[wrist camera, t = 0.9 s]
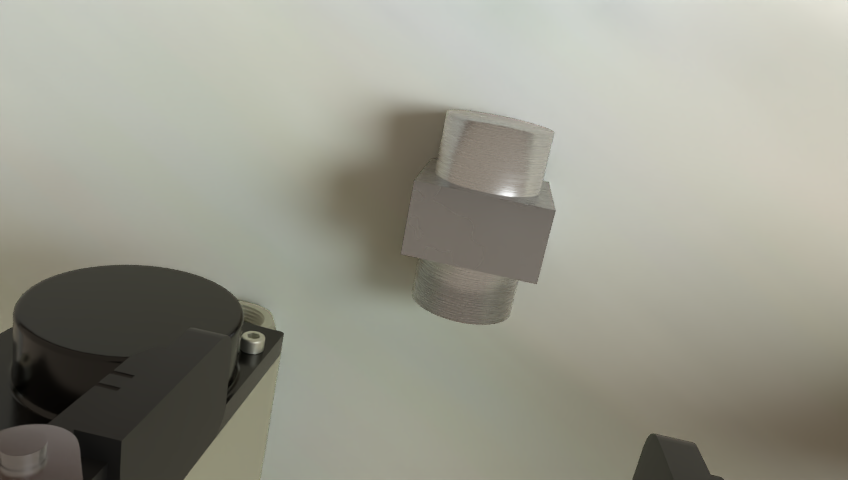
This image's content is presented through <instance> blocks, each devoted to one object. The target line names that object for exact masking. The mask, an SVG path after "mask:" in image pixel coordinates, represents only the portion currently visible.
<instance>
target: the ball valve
mask: <svg viewBox="0 0 848 480" xmlns="http://www.w3.org/2000/svg"><path fill="white" fill-rule="evenodd" d="M189 328H197V329H201V330H206V331H210V332H214V333H219V334H223V335H228V336H229V337H230V338H231V342H232V349H231V360H230V369H229V379H228V389H227V399H226V408H225V413H224V417H223V420H222V423H221V426H220V428H219V431H218V433H217V435H216V437H215V438H214V440H213V441H212V443H211V444H210V445H209V447H208V448H207V449H206V451H205V452H204V453H203V455H202V456H201V457H200V459H199V460H198V461H197V463H196V464H195V465H194V467H193V468H192V469H191V471H190V472H189V473H188V475H187V476H186V477H185V479H184V480H260V478H261V471H262V465H263V460H264V455H265V449H266V442H267V436H268V430H269V424H270V417H271V411H272V405H273V399H274V393H275V387H276V381H277V374H278V368H279V362H280V356H281V350H282V342H283V335H284V333H283V332H280V331H277V330H276V328H275V323H274V319H273V316H272V314H271V312H270V311H269V310H267V309H265V308H263V307H261V306H258V305H256V304H253V303H249V302H244V301H238V300H237V299H236V297H235V296H234V295H233V294H232V293H230V292H229V291H228V290H226V289H225V288H223V287H222V286H220V285H218V284H217V283H215V282H213V281H210V280H208V279H206V278H203V277H200V276H197V275H194V274H191V273H187V272H183V271H179V270H174V269H169V268H162V267H154V266H142V265H109V266H98V267H89V268H83V269H78V270H73V271H69V272H65V273H62V274H58V275H56V276H53V277H50V278H48V279H45V280H43V281H41V282H39V283H38V284H36V285H34V286H32V287H31V288H30V289H29V290H27V291H26V292H25V293H24V294H23V295H22V296H21V297H20V299H19V300H18V302H17V303H16V305H15V308H14V312H13V327H12V328H10V329H8V330H6V331H5V332H3V333H1V334H0V431H1V430H4V429H8V428H11V427H16V426H21V425H30V424H46V425H47V424H48V423H49V422H51V421H52V420H53V419H54V418H55V417H57V416H58V415H59V414H60V413H62V412H63V411H64V410H65V409H66V408H68V407H69V406H70V405H71V404H73V403H74V402H75V401H76V400H77V399H79V398H80V397H81V396H82V395H84V394H85V393H86V392H87V391H88V390H90V389H91V388H92V387H93V386H97V385H98V382H100V381H101V380H102V379H103V378H104V377H106V376H107V375H108V374H109V373H110V374H112V373H113V370H114V369H115V368H117V367H118V366H119V365H120V364H122V363H123V362H124V361H125V360H126V359H128V358H129V357H130V356H132V355H135V354H137V353H140V352H142V351H145V350H147V349H150V348H152V347H155V346H159V347H163V348H167V347H168V346H169V345H170V344H171V343H172V342H174V341H175V340H176V339H177V338H178V337H179V336H180V335H182V334H183V333H184V332H185V331H186V330H187V329H189Z"/></svg>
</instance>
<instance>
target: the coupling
mask: <svg viewBox="0 0 848 480" xmlns="http://www.w3.org/2000/svg"><path fill="white" fill-rule="evenodd" d="M553 137H554V131H552V130H550V129H548V128H545V127H542V126H539V125H536V124H533V123H529V122H525V121H521V120H517V119H513V118H508V117H503V116H498V115H493V114H488V113H481V112H475V111H466V110H448V111H447V113H446V118H445V124H444V129H443V134H442V139H441V144H440V150H439V155H438V159H435V158H431V160H430V161H429V162H428V163H427V165H426V166H425V167H424V169H423V170H422V171H421V172H420V174H419V175H418V176H417V178H416V179H415V180H414V184H413V190H412V195H411V201H410V206H409V212H408V217H407V223H406V228H405V234H404V239H403V245H402V250H401V254H402V255H407V256H411V257H416V258H419V259H418V264H417V269H416V275H415V280H414V285H413V290H412V296H413V299H414V300H415V301H416V303H417V304H419V305H420V306H421V307H422V308H424V309H425V310H427V311H429V312H431V313H433V314H435V315H437V316H440V317H443V318H446V319H449V320H453V321H456V322H461V323H468V324H477V325H486V324H495V323H500V322H502V321H504V320H506V319H507V318H508V317H509V316H510V312H511V308H512V304H513V300H514V296H515V292H516V288H517V284H518V280H520V281H525V282H529V283H534V284H537V281H538V277H539V273H540V269H541V265H542V261H543V258H544V254H545V250H546V246H547V242H548V238H549V234H550V230H551V226H552V222H553V218H554V214H555V211H556V210H555V206H554V202H553V198H552V194H551V189H550V185H549V182H546V181H543V178H544V174H545V169H546V165H547V161H548V157H549V153H550V149H551V145H552V141H553Z"/></svg>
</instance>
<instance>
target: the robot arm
mask: <svg viewBox="0 0 848 480" xmlns="http://www.w3.org/2000/svg"><path fill="white" fill-rule="evenodd" d="M231 349H232V342H231V338H230V337H229V336H228V335H223V334H219V333H214V332H210V331H206V330H201V329H197V328H189V329H187V330H186V331H185V332H184V333H183V334H182V335H180V336H179V337H178V338H177V339H176V340H175V341H174V342H172V343H171V344H170V345H169V346H168V347H167V348H163V347H159V346H155V347H152V348H150V349H147V350H145V351H142V352H140V353H137V354H135V355H132V356H130V357H129V358H128V359H126V360H125V361H124V362H123V363H122V364H120V365H119V366H118V367H117V368H115V369H114V370H113V373H112V374H110V373H109V374H108V375H107V376H106V377H104V378H103V379H102V380H101V381H100V382H98V385H97V386H93V387H92V388H91V389H90V390H88V391H87V392H86V393H85V394H84V395H82V396H81V397H80V398H79V399H77V400H76V401H75V402H74V403H73V404H71V405H70V406H69V407H68V408H66V409H65V410H64V411H63V412H62V413H60V414H59V415H58V416H57V417H55V418H54V419H53V420H52V421H51V422H49V423H48V424H47V425H46V424H30V425H21V426H16V427H11V428H8V429H4V430H1V431H0V480H184V479H185V477H186V476H187V475H188V473H189V472H190V471H191V469H192V468H193V467H194V465H195V464H196V463H197V461H198V460H199V459H200V457H201V456H202V455H203V453H204V452H205V451H206V449H207V448H208V447H209V445H210V444H211V443H212V441H213V440H214V438H215V437H216V435H217V433H218V431H219V428H220V426H221V423H222V420H223V417H224V413H225V408H226V399H227V389H228V379H229V369H230V360H231ZM632 480H724V479H723V478H722V477H718V476H714V475H710V473H709V470H708V468H707V466H706V464H705V462H704V460H703V458H702V456H701V454H700V452H699V450H698V447H697V446H696V444H695V443H693V442H689V441H684V440H680V439H675V438H671V437H667V436H662V435H658V434H650V435H649V436H648V438H647V440H646V442H645V444H644V447H643V450H642V453H641V456H640V459H639V462H638V465H637V468H636V471H635V474H634V476H633V479H632Z"/></svg>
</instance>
